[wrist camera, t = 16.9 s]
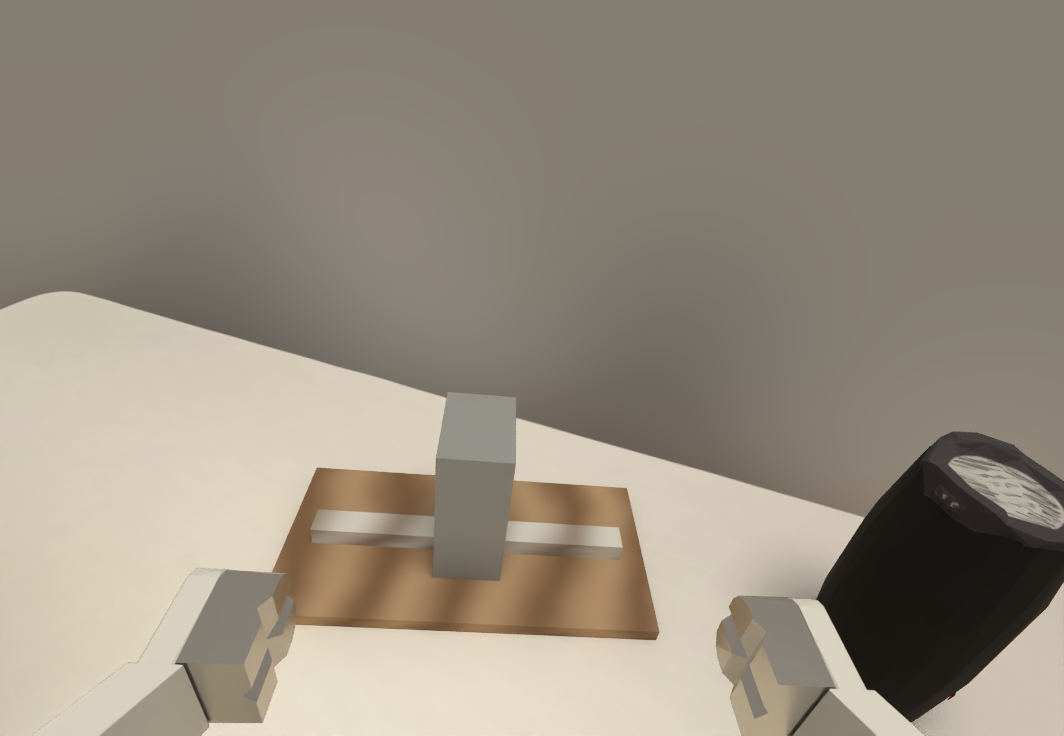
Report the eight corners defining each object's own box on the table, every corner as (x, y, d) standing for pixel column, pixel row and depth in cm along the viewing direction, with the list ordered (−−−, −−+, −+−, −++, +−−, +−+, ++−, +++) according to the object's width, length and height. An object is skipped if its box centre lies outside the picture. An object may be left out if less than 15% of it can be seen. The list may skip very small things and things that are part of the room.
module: (432, 577, 41) (435, 458, 34) (442, 505, 47) (447, 392, 40) (500, 581, 41) (516, 463, 35) (502, 509, 47) (516, 397, 41)
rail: (256, 622, 38) (250, 600, 36) (318, 475, 49) (315, 455, 48) (655, 639, 40) (664, 619, 39) (624, 495, 52) (630, 476, 50)
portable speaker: (951, 723, 37) (1167, 532, 27) (840, 756, 35) (1028, 560, 24) (860, 609, 44) (1003, 420, 33) (761, 629, 42) (881, 432, 31)
